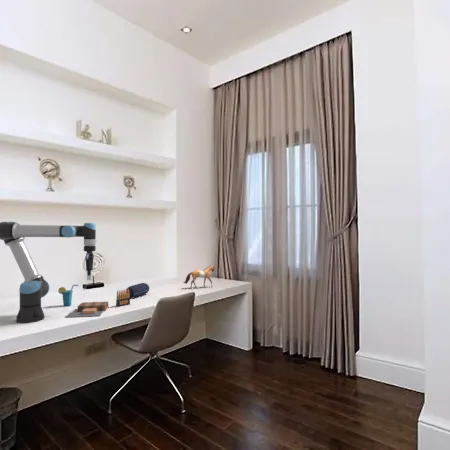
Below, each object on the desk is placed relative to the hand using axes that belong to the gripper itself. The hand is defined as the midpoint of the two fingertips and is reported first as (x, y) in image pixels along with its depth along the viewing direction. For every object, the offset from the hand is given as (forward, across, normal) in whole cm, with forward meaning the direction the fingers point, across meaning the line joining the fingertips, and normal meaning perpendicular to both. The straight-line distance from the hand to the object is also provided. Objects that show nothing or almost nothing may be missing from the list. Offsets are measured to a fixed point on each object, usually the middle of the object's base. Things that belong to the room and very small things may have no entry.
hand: (89, 279), depth 232 cm
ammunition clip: (+22, +16, -20) cm, 33 cm away
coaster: (+21, -4, -1) cm, 22 cm away
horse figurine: (+21, +83, -80) cm, 118 cm away
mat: (+22, -8, +1) cm, 23 cm away
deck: (+22, +6, -1) cm, 23 cm away
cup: (+22, +23, +20) cm, 38 cm away
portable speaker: (+22, +50, -26) cm, 61 cm away
